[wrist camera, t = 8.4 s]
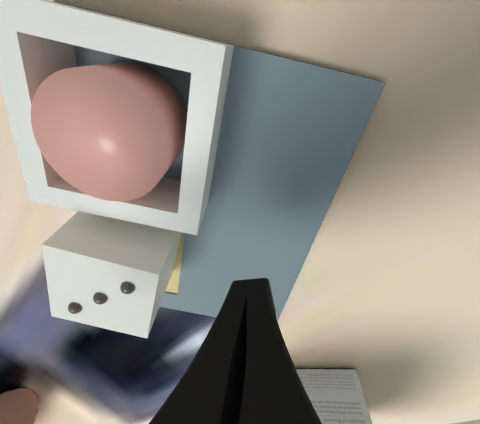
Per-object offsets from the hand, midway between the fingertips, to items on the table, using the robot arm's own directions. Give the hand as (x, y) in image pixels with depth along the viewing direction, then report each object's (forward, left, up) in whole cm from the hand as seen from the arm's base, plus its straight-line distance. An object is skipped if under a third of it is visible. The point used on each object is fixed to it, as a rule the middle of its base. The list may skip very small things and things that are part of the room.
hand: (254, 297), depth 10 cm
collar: (+6, -4, -5) cm, 9 cm away
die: (+6, +2, -5) cm, 8 cm away
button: (+6, -4, -4) cm, 9 cm away
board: (+3, 0, -5) cm, 6 cm away
